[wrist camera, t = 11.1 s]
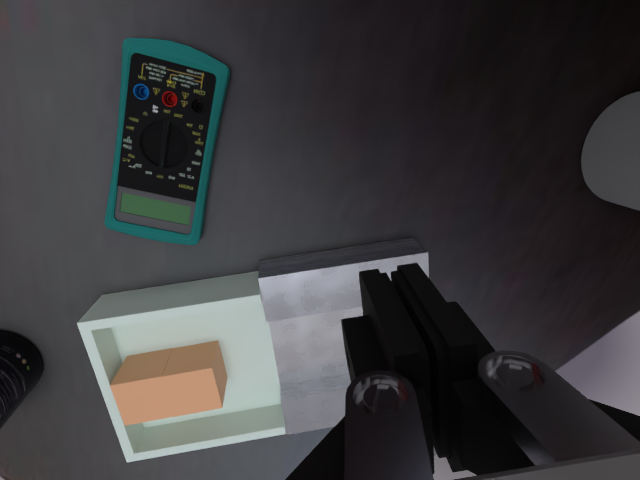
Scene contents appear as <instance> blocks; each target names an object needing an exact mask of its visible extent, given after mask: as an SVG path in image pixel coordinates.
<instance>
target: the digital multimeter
mask: <svg viewBox="0 0 640 480" xmlns="http://www.w3.org/2000/svg"><path fill="white" fill-rule="evenodd" d="M173 62H174V63H173ZM229 78H230V70H229V68H228V67H227V66H226V65H225V64H223V63H221V62H219V61H218V60H216V59H214V58H212V57H210V56H209V55H207V54H205V53H203V52H201V51H198V50H196V49H194V48H192V47H190V46H187V45H183V44H180V43H176V42H173V41H168V40H159V39H148V38H127V39H125V40H124V42H123V51H122V71H121V89H120V102H119V116H118V129H117V138H116V146H115V154H114V163H113V171H112V178H111V184H110V190H109V197H108V203H107V209H106V216H105V226H106V227H107V228H109V229H111V230H115V231H118V232H122V233H125V234H129V235H133V236H137V237H141V238H146V239H151V240H157V241H163V242H170V243H178V244H188V245H195V244H197V243H198V242H199V240H200V238H201V236H202V233H203V225H204V217H205V209H206V201H207V193H208V186H209V179H210V173H211V167H212V161H213V154H214V149H215V144H216V139H217V134H218V129H219V124H220V119H221V114H222V109H223V105H224V100H225V96H226V91H227V87H228V83H229ZM215 84H216V85H215ZM214 90H215V91H214ZM213 96H214V98H213ZM212 102H213V104H212ZM211 108H212V110H211ZM210 114H211V115H210ZM172 120H173V121H172ZM209 120H210V121H209ZM146 122H147V123H146ZM208 126H209V127H208ZM185 131H186V132H185ZM207 132H208V133H207ZM206 138H207V139H206ZM205 144H206V145H205ZM190 145H191V147H190ZM204 150H205V151H204ZM203 156H204V157H203ZM143 159H144V160H143ZM186 160H187V161H186ZM202 162H203V163H202ZM180 166H181V167H180ZM155 168H156V169H155ZM201 168H202V169H201ZM200 174H201V175H200ZM199 180H200V181H199ZM198 186H199V187H198ZM197 192H198V193H197ZM196 198H197V199H196ZM183 233H184V234H183Z"/></svg>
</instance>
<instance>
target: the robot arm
mask: <svg viewBox="0 0 640 480" xmlns="http://www.w3.org/2000/svg"><path fill="white" fill-rule="evenodd" d="M359 282H360V291H361V300H362V310H363V316H358V317H352V318H345V319H341V325H342V333H343V340H344V348H345V354H346V360H347V366H348V371H349V376H350V380H351V383H350V385H349V386H348V388H347V391H346V395H345V416H344V417H343V418H342V419H341V420H340V421H339V423H338V424H337V425H336V426H335V427H334V428H333V429H332V430H331V431H330V432H329V433H328V434H327V435H326V437H325V438H324V439H323V440H322V441H321V442H320V443H319V444H318V445H317V446H316V447H315V448H314V449H313V450H312V452H311V453H310V454H309V455H308V456H307V457H306V458H305V459H304V460H303V461H302V462H301V463H300V464H299V465H298V467H297V468H296V469H295V470H294V471H293V472H292V473H291V474H290V475H289V476H288V477H287V478H286V479H285V480H434V479H433V474H434V452H433V446H434V448H435V450H436V453H437V455H438V457H439V458H443V457H446V458H447V460H448V463H449V465H450V467H451V469H452V472H458V471H464V470H469V471H470V472H472V473H474V474H476V475H477V476H473V477H466V478H461V479H455V480H640V416H637V415H635V414H632V413H629V412H625V411H622V410H620V409H617V408H614V407H611V406H608V405H605V404H601V403H599V402H595V401H593V400H589V399H587V398H586V397H585V396H584V395H582V394H581V393H580V392H579V391H578V390H576V389H575V388H574V387H573V386H571V385H570V384H569V383H568V382H567V381H565V380H564V379H563V378H562V377H561V376H560V375H558V374H557V373H556V372H555V371H554V370H552V369H551V368H550V367H549V366H547V365H546V364H545V363H544V362H542V361H540V360H539V359H537V358H536V357H533V356H531V355H528V354H526V353H521V352H517V351H497V352H496V351H495V350H494V348H493V347H492V346H491V345H490V343H489V342H488V341H487V339H486V338H485V337H484V336H483V334H482V333H481V332H480V331H479V329H478V328H477V327H476V326H475V324H474V323H473V322H472V320H471V319H470V318H469V317H468V315H467V314H466V313H465V312H464V310H463V309H462V308H461V307H460V305H459V304H458V303H457V302H446V301H445V299H444V298H443V297H442V295H441V294H440V293H439V291H438V290H437V289H436V287H435V286H434V285H433V283H432V282H431V280H430V279H429V278H428V276H427V275H426V274H425V272H424V271H423V270H422V268H421V267H420V266H419V264H418V263H411V264H404V265H398V266H397V271H391V280H390V278H389V276H388V275H387V273H386V272H385V273H380V271H379V269H372V270H365V271H359Z"/></svg>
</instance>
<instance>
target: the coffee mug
mask: <svg viewBox="0 0 640 480" xmlns="http://www.w3.org/2000/svg"><path fill="white" fill-rule="evenodd" d="M581 166H582V173H583V176H584V180H585V182H586V184H587V186H588V187H589V188H590V190H591V191H592V192H593V193H594V194H595V195H596V196H598V197H599V198H601V199H603V200H605V201H608V202H612V203H615V204H619V205H622V206H626V207H629V208H632V209H636V210H639V211H640V91H639V92H635V93H632V94H629V95H626V96H624V97H622V98H620V99H618V100H617V101H615V102H614V103H613V104H611V105H610V106H609V107H607V108H606V109H605V110H604V111H603V112H602V113H601V114H600V116H599V117H598V118H597V119H596V121H595V122H594V124H593V125H592V127H591V129H590V131H589V132H588V135H587V137H586V139H585V142H584V146H583V150H582V157H581Z"/></svg>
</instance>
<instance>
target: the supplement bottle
mask: <svg viewBox="0 0 640 480" xmlns="http://www.w3.org/2000/svg"><path fill="white" fill-rule="evenodd" d="M41 373H42V361H41V358H40V355H39V354H38V352H37V350H36V349H35V348H34V347H33V346H32V345H31V344H30V343H29V342H28V341H26V340H25V339H23V338H21V337H19V336H17V335H15V334H11V333H7V332H0V429H1V427H2V426H3V425H4V424H5V423H6V421H7V420H8V419H9V418H10V416H11V415H12V414H13V413H14V411H15V410H16V409H17V408H18V406H19V405H20V404H21V403H22V402H23V400H24V399H25V398H26V397H27V395H28V394H29V393H30V392H31V390H32V389H33V388H34V386H35V385H36V384H37V382H38V381H39V379H40V376H41Z"/></svg>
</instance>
